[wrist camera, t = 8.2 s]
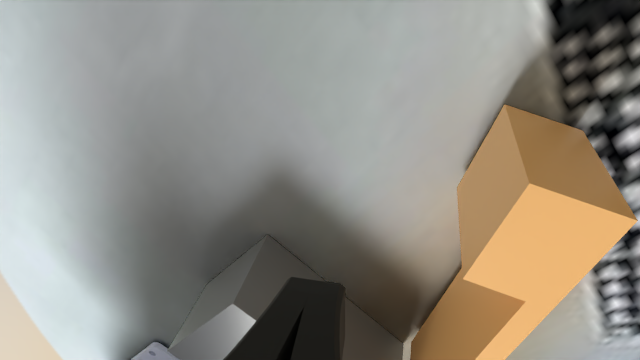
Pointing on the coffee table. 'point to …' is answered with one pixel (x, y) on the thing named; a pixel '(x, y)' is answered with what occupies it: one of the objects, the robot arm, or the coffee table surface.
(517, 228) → the tan l-shaped bracket
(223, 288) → the block
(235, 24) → the coffee table surface
